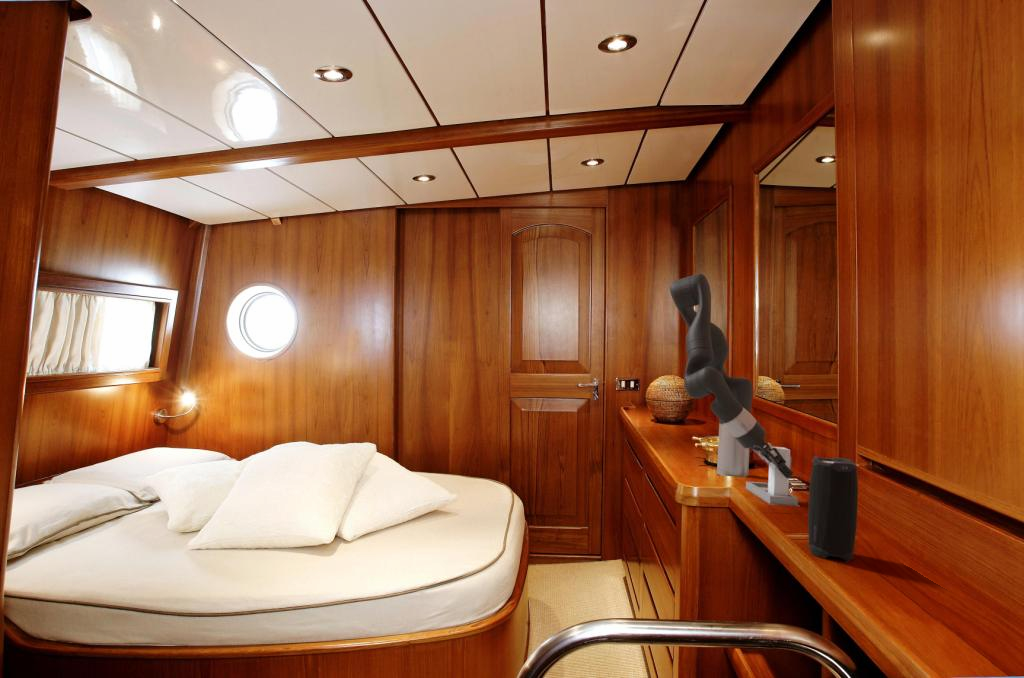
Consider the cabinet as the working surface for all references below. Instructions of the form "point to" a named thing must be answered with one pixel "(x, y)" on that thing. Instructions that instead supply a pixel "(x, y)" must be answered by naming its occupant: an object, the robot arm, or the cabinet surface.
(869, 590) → the cabinet surface
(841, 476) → the portable speaker
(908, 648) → the cabinet surface
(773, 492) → the plug
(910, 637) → the cabinet surface
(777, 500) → the panel
